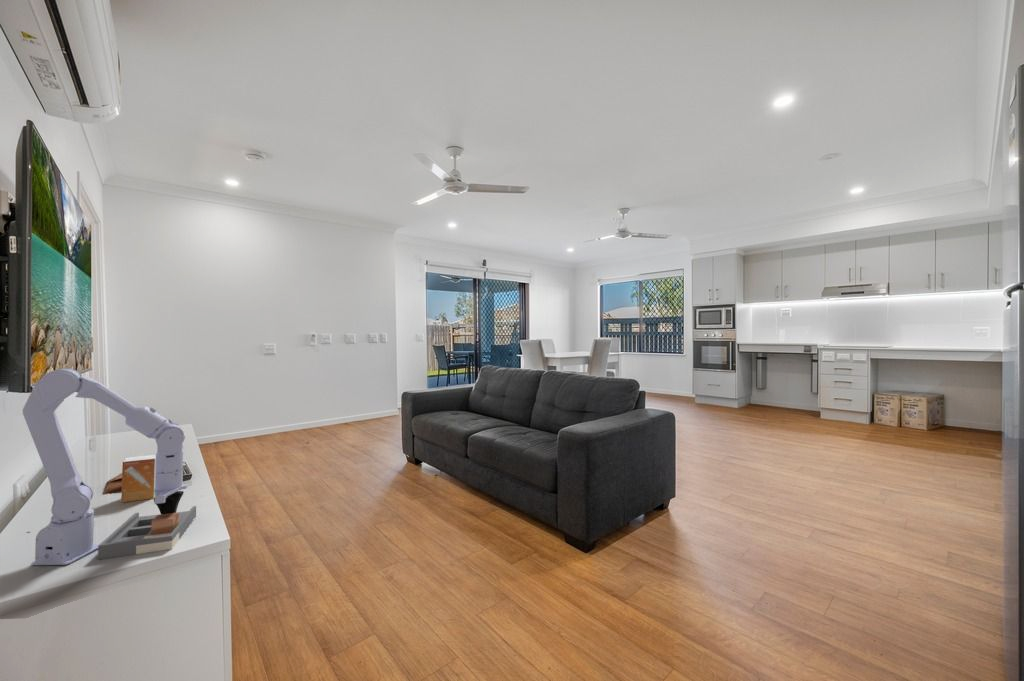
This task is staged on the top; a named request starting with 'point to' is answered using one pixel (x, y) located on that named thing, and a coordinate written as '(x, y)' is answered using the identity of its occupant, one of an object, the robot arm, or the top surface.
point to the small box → (138, 478)
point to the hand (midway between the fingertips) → (168, 521)
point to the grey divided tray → (142, 536)
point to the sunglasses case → (114, 485)
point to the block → (164, 523)
